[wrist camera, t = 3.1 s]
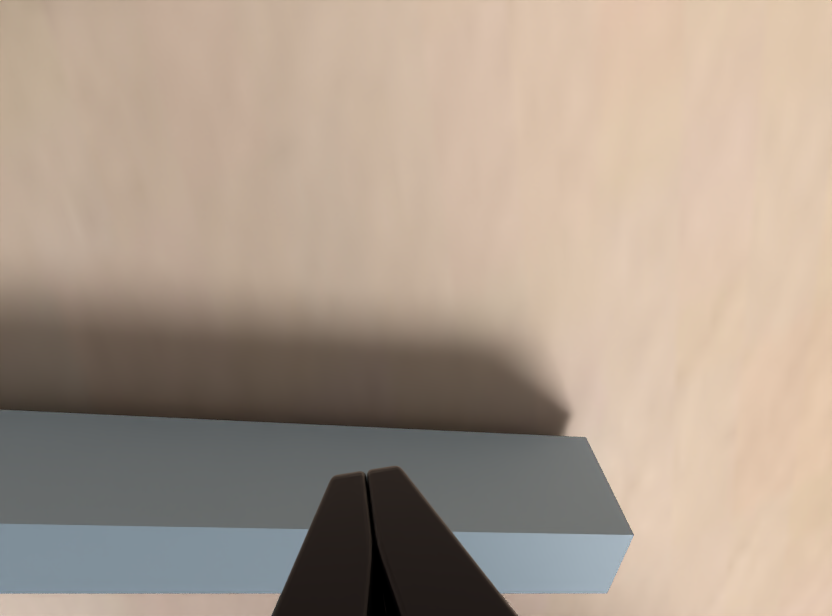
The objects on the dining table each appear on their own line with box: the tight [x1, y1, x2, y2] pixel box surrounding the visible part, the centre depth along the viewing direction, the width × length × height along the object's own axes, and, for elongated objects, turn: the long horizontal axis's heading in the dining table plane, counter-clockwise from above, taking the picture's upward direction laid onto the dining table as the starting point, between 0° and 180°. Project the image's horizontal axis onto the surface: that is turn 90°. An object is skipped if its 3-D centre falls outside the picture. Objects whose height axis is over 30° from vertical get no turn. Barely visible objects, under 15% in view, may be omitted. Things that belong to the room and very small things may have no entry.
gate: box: [0, 410, 634, 593], centre depth 16 cm, size 2×14×3 cm, turn 80°
